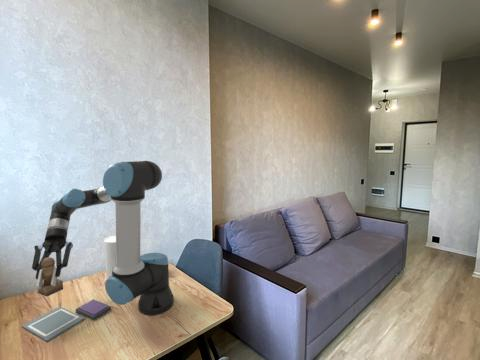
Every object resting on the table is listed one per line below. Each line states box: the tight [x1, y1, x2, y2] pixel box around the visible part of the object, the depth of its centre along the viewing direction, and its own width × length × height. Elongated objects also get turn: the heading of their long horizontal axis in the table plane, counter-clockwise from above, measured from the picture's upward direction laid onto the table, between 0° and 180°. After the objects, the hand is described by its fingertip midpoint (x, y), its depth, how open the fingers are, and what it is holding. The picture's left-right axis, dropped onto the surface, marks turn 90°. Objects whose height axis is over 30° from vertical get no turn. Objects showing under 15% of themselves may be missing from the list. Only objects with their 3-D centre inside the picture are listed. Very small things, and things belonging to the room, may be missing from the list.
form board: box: [21, 306, 86, 343], centre depth 104 cm, size 18×14×1 cm
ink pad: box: [75, 299, 112, 322], centre depth 111 cm, size 12×8×2 cm, turn 63°
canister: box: [103, 234, 116, 278], centre depth 146 cm, size 14×14×20 cm
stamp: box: [37, 256, 64, 298], centre depth 102 cm, size 6×6×14 cm
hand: (45, 286), depth 98 cm, fingers closed on stamp, 4 cm apart
